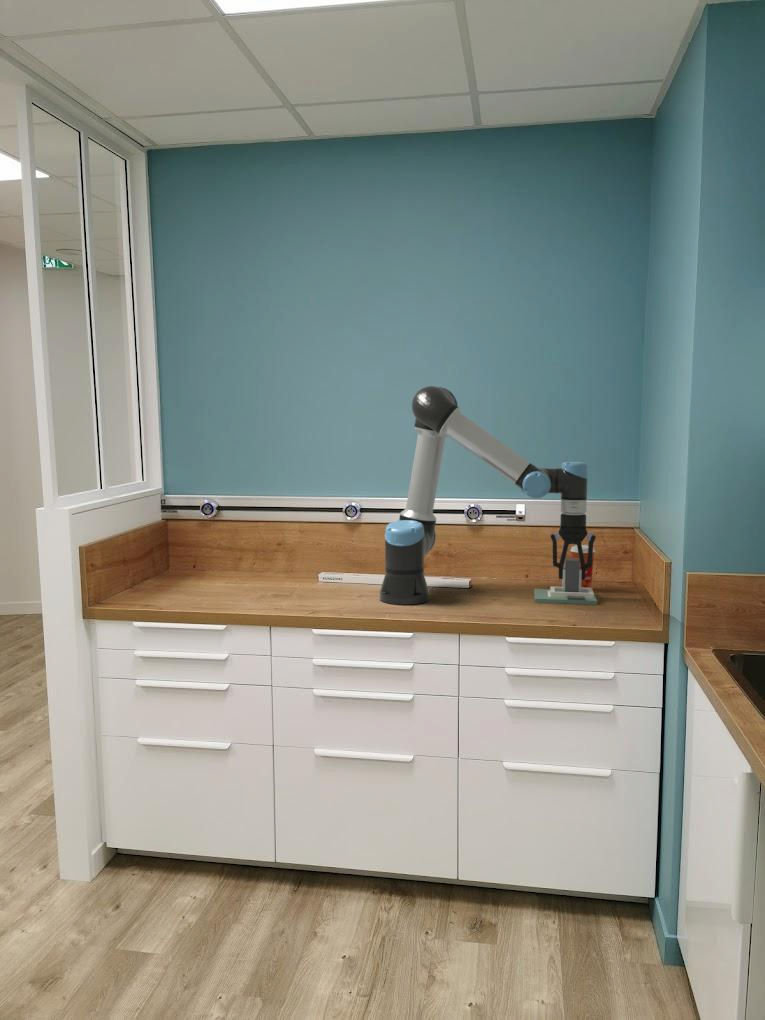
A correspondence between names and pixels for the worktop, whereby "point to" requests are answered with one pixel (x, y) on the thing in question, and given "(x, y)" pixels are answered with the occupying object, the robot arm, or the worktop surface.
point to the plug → (571, 575)
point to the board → (565, 596)
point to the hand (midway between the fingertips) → (571, 589)
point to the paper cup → (588, 571)
